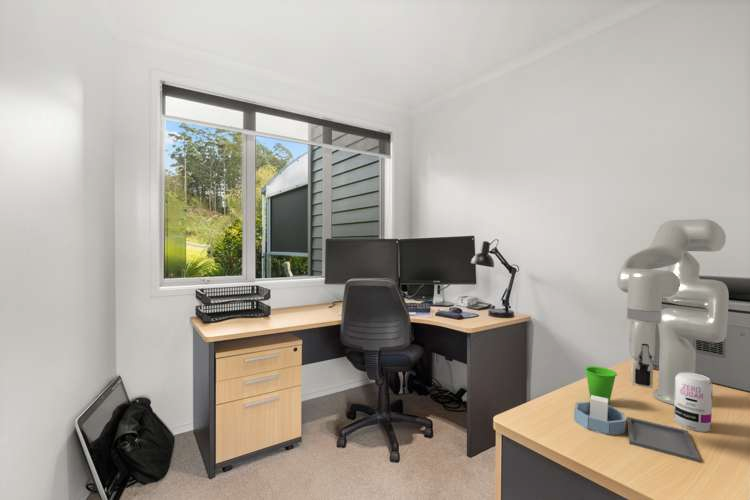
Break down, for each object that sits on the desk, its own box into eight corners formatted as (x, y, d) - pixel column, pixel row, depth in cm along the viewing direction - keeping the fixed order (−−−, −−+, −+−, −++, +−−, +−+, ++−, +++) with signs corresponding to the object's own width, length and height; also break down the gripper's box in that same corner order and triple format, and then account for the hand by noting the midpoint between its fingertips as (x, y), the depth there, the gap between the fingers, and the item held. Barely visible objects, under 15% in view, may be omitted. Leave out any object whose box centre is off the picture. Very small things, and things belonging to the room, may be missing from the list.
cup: (621, 411, 113) (622, 377, 113) (590, 408, 115) (591, 374, 115) (608, 399, 122) (609, 367, 122) (579, 396, 124) (580, 365, 124)
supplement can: (701, 422, 107) (703, 373, 107) (717, 436, 99) (719, 383, 99) (668, 417, 110) (670, 369, 109) (681, 430, 102) (683, 379, 102)
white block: (590, 414, 109) (591, 394, 109) (607, 418, 107) (608, 398, 107) (589, 418, 106) (590, 398, 106) (607, 423, 104) (607, 402, 104)
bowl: (576, 410, 113) (576, 398, 113) (623, 422, 106) (623, 408, 106) (573, 427, 103) (573, 413, 103) (625, 441, 96) (625, 426, 96)
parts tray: (626, 420, 107) (626, 416, 107) (687, 434, 100) (687, 430, 100) (629, 445, 94) (629, 440, 94) (699, 464, 86) (700, 459, 86)
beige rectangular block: (630, 380, 101) (631, 359, 100) (650, 384, 98) (651, 362, 98) (632, 384, 97) (633, 363, 97) (652, 388, 95) (653, 366, 95)
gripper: (624, 309, 107) (622, 370, 107) (630, 319, 92) (627, 389, 93) (655, 312, 103) (653, 375, 103) (666, 323, 89) (664, 395, 89)
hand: (641, 381), depth 98 cm, fingers closed on beige rectangular block, 3 cm apart
